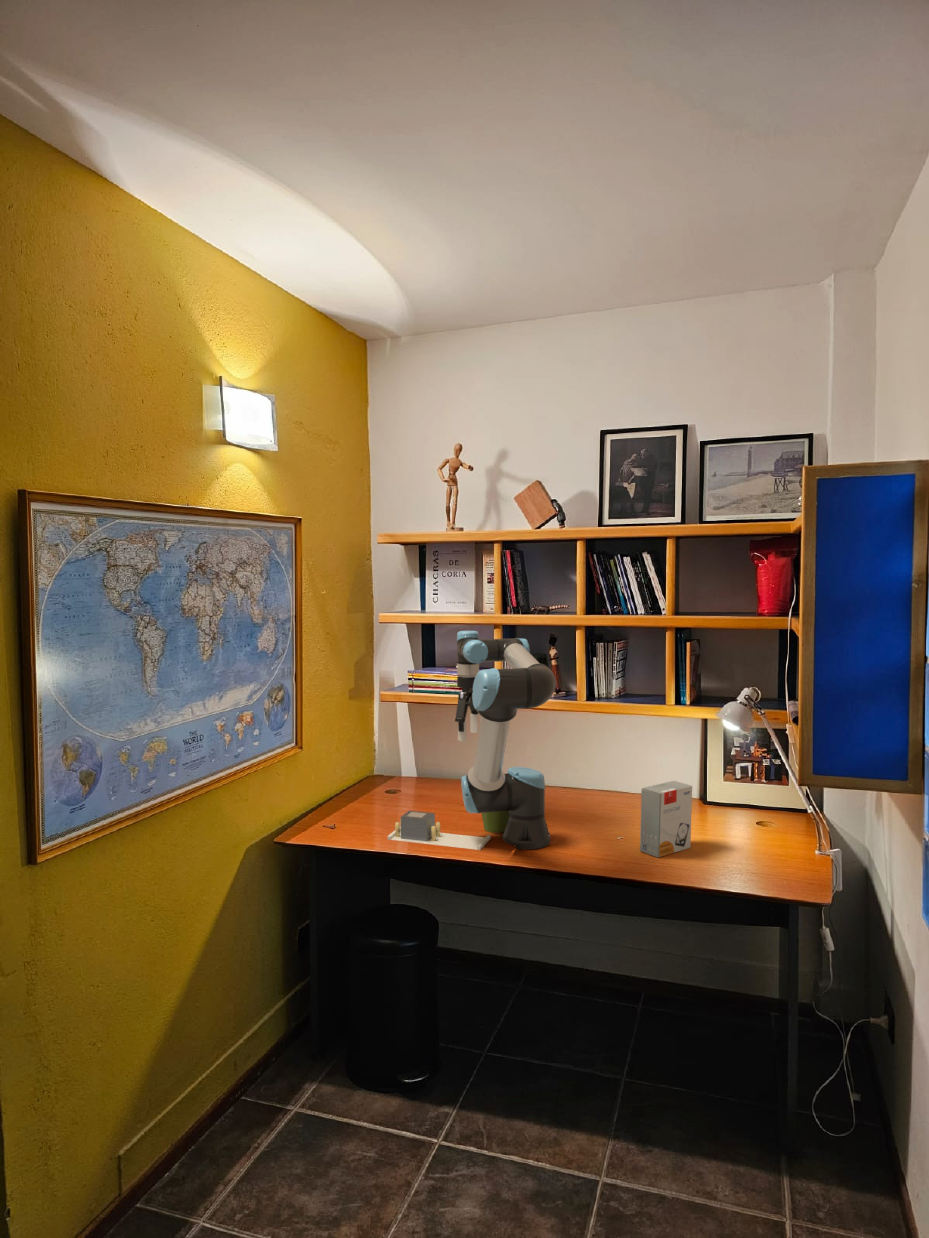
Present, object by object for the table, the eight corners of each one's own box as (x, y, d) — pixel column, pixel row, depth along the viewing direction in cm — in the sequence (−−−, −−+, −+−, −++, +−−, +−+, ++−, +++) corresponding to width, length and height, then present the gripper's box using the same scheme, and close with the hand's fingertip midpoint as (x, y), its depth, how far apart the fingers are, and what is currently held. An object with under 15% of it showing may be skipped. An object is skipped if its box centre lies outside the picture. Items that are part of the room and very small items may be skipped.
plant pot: (470, 831, 265) (470, 798, 264) (496, 823, 272) (496, 791, 271) (494, 840, 256) (494, 806, 255) (520, 832, 263) (520, 799, 262)
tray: (490, 841, 255) (490, 824, 255) (480, 853, 245) (480, 835, 244) (401, 831, 265) (400, 814, 265) (387, 842, 255) (387, 825, 254)
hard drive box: (658, 858, 239) (659, 793, 238) (639, 851, 246) (639, 787, 244) (691, 847, 248) (692, 784, 247) (672, 840, 255) (673, 779, 253)
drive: (434, 834, 259) (434, 812, 258) (427, 841, 252) (426, 819, 252) (409, 831, 262) (408, 810, 261) (400, 838, 255) (400, 816, 255)
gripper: (469, 670, 288) (469, 728, 289) (445, 680, 264) (445, 743, 266) (488, 671, 286) (489, 729, 287) (466, 681, 262) (467, 745, 264)
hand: (468, 736), depth 277 cm, fingers open, 13 cm apart
